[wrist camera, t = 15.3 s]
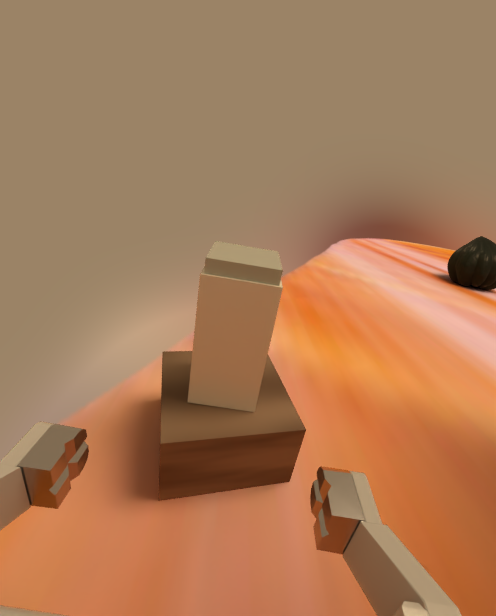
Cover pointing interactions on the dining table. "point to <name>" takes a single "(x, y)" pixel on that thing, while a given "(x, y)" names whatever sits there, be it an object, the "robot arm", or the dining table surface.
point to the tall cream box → (234, 325)
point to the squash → (474, 264)
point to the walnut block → (224, 436)
